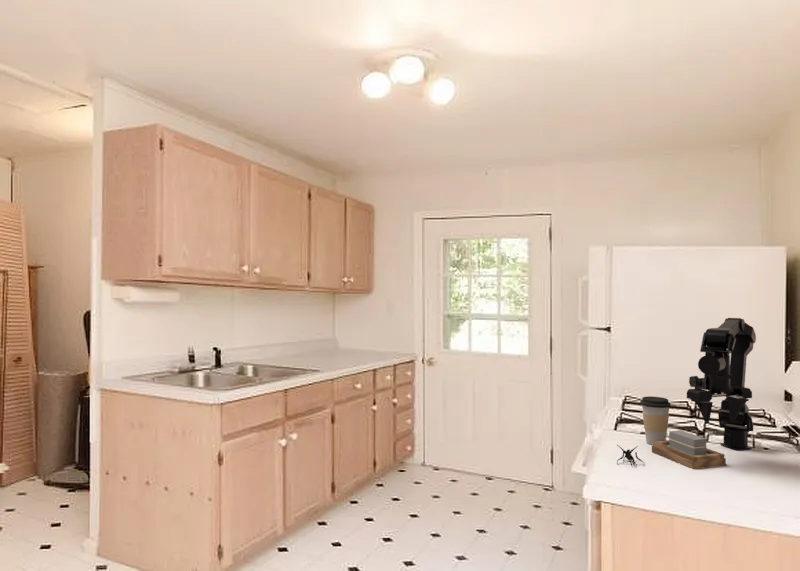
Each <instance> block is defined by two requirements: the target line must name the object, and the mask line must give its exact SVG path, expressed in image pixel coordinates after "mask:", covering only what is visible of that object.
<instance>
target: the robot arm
mask: <svg viewBox="0 0 800 571" xmlns="http://www.w3.org/2000/svg"><path fill="white" fill-rule="evenodd" d="M756 341H757V336H756V332H755V330H754V327H753V326H751V325H750V324H748V323H746V321H745V319H744V318H741V317H726V318H725V319H724V322H723V323H721V325H719V326H718V327H710V328H707V329H706V330H705V332H703V335H702V341H701V346H700V349H699V350H700V353H704V356H701V357H700V358H699V360H698V362H697V365H698V366H697V367H698V369H699V371H700V372H701V373H702V374H704V375H703V376H704V377H699V376H697V375H692V376H689V377H688V378H689V380H688V384H689V386H690V388H689V389H688V390H687V391H686V399H687V400H688V399H689V400H690V401H691V402H694V403H695V404H696V405H697V407H698V408H699V412H700V413H701V416H702V419H703V421H704V424H710V420H711V419H710V418H711V415H712V409H713V401H711V400H712V399H713V398H720V397H725V399H722V401H721V402H720V408H719V410H718V415H717V416H718V423H719V424H718V425H719V428H723V429H724V430H723V431H724V432H723V443H722V442H721V443H720V446H723V447H725V448H728V449H731V450H733V451H744V450H745V451H746V450H752V449H753V447H752V446H749V444H748V443H749V441H748V439H749V437H748V434H749V432H754V422H753V418H752V416H751V414H750V408H749V406H748V404H747V402H749V400H750V399H753V391H752V390H751V388H749V387H746V386H745V383H746V372H747V370H746V369H747V358H748V356H749V354H750V353H751V352H752V351H753V349H754V344H755V343H756Z"/></svg>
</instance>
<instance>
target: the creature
mask: <svg viewBox="0 0 800 571" xmlns="http://www.w3.org/2000/svg"><path fill="white" fill-rule="evenodd" d="M616 446H617V447H618V448H620V449H621V450H622V455H621V457H620V458H618V459H617V460H616V464H617V465H618V464H619V463H618V462H619V461H620V460H622V459H623V460H622V462H623V461H624V462H625V458H626V459H627V461H629V463H630V465H631V467H635V463H637V462H635V459H634V456H635V458H636V459H637V460H638V461H640V462H642V463H643V464H644V465H643V467H645V466H646V464H645V462H644V461H643V460H642V459H641V458H639V457H638V452H634V450H636V449H637V448H638V446H639V445H637V446H635V447H634V448H633V449H630V448H629V449H627V450H625V449H623V447H621V446H620V445H618V444H616ZM633 452H634V453H635V455H634V456H633V455H632V453H633Z"/></svg>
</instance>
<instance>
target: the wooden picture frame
mask: <svg viewBox="0 0 800 571" xmlns="http://www.w3.org/2000/svg"><path fill="white" fill-rule="evenodd" d="M651 453H653V454H656V455H658V456H661V457H663V458H665V459H667V460H671V461H672V462H674V461H675V462H674V463H677V464H679V463H680V464H679V465H682V466H684V467H687V468H689V469H691V468H692V469H691V470H694V468H696V469H703V468H702V467H705V468H710V466H713V467H720V466H719V465H722V466H727V465H726V463H727V459H726V458H725V453H721V452H719V451H715V450H713V449H710V448H708V447H706V454H705V455H695V456H693V455H691V454H688V453H686V452H683V451H680V450H678V449H675V448H672V447H670V446H669V439H668V440H666V441H657V442H653V445H651Z"/></svg>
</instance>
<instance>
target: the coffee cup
mask: <svg viewBox="0 0 800 571" xmlns="http://www.w3.org/2000/svg"><path fill="white" fill-rule="evenodd" d="M641 399H642V400H640V403H639V404H640V405H641V407H642V408H641V409H642V420H643V428H644V433H645V434H644V435H645V442H646V444H648V445H651V446H653V442H657V441H667V432H668V426H669V417H670V408H671V406H672V405H671V402H669V399H668V398H666V397H661V396H650V395H649V396H643V397H642V398H641Z"/></svg>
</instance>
